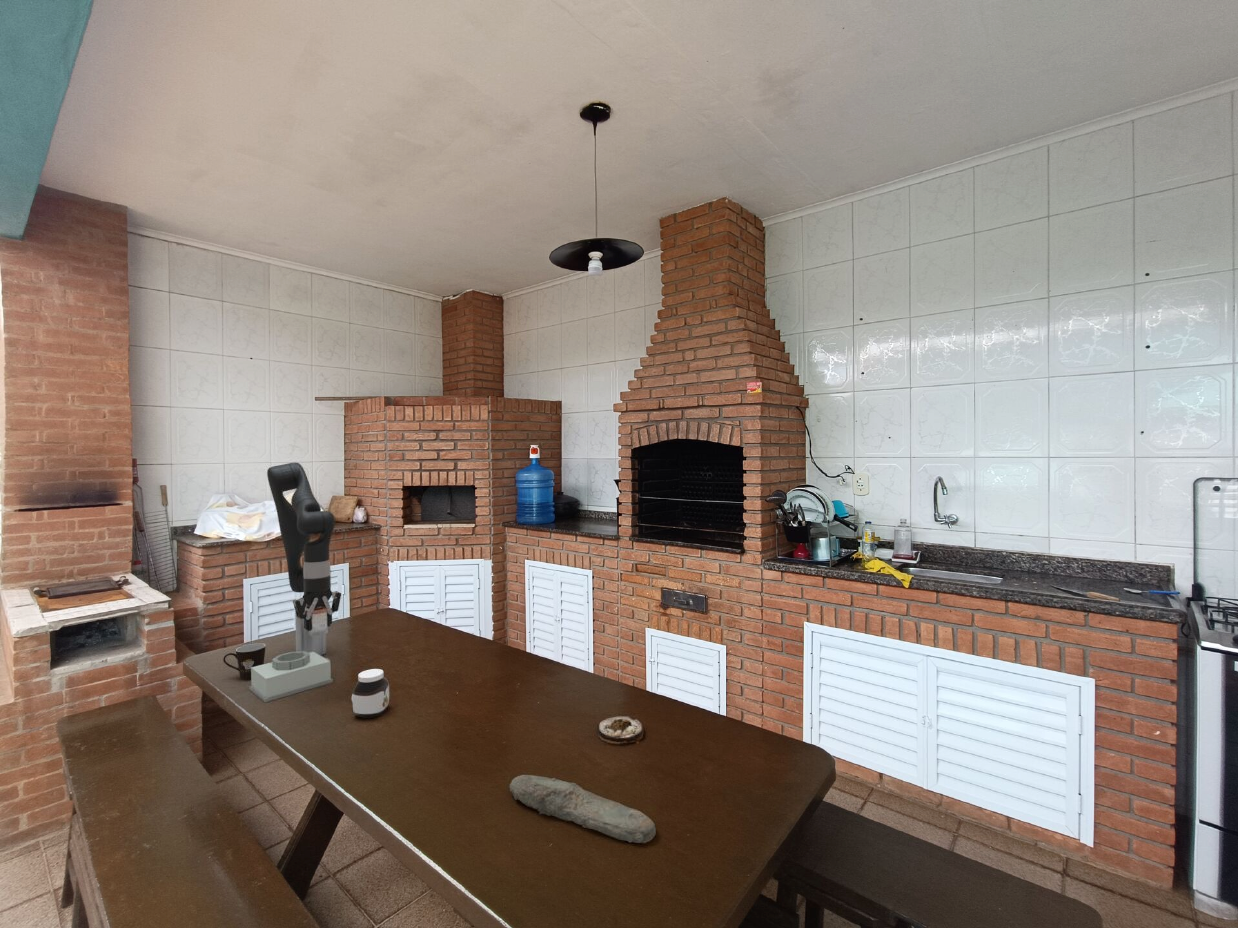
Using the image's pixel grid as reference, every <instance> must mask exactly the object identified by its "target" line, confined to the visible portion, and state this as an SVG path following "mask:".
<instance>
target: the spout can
mask: <svg viewBox="0 0 1238 928" xmlns="http://www.w3.org/2000/svg"><path fill="white" fill-rule="evenodd" d="M310 619H311V631H309V635H310V636H320V635H324V634H328V632H329V630H328V629H329V628H328V619H327V608H326V607H317V608H314V611H313V612H312V614H311V617H310Z"/></svg>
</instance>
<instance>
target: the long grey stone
mask: <svg viewBox="0 0 1238 928" xmlns="http://www.w3.org/2000/svg"><path fill="white" fill-rule="evenodd" d="M509 791H510V792H511V793H512V796H513V797H514V800H518V801H520V802H521V803H522V804H524V805H526V806H527V807H529V808H532V809H534V810H537V812H539V815H542V814H543V815H547V816H548V817H549V816H553V817H555V818H557V819H560V820H564V821H568V822H574V823H575V824H577V825H580V826H581V827H583V828H585V829H590V830H594V831H596V832H597V831H598V832H599V833H602V834H604V835H606V836H609V837H612V838H615V839H617V840H620V841H627V842H628V843H635V844H646V843H648V842H649V843H650V841H652V840H653V839H654V838H655V836H656V835H657V834H656V830H657V828H656V827H655V826H656V825H655V823H654V822H653V820H652V819H651V818H649V816H647V815H646V814H645V813H643V812H642V811H640V810H639V809H635V808H631V807H629V806H626V805H623V804H622V803H620V802H617V801H614V800H612V799H607V798H605V797H603V796H601V795H597V794H595V793H593V792H591V791H588V790H585V789H583V787H582V786H580V785H578V784H577V783H575V782H568V781H565V780H564V781H563V780H561V779H557V778H556V777H552V778H550V777H546V776H540V775H532V774H522V775H518V776H516V777H514V778H513V779H512V780H511V782H510V784H509Z"/></svg>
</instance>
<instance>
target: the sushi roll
mask: <svg viewBox="0 0 1238 928" xmlns="http://www.w3.org/2000/svg"><path fill="white" fill-rule="evenodd" d="M631 717H632V716H629V715H627V716H622V715H620V716H619V715H618V716H613V717H608V718H605V719H603V720H602V721H600V722H599V723H598V725H597V729H596V730H597V734H598V738H599V740H601V741H602V742H603V743H605V744H609V745H614V746H615V745H621V746H623V745H624V746H625V745H629V744H631V743H636V744H639V742H640V741H641V740H642V739H643V736H644V730H645V729H644V728H643V725H642V723H641V722H640V721H639V720H638V719H637V718H635V719H634V718H631Z"/></svg>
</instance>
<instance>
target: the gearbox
mask: <svg viewBox="0 0 1238 928" xmlns="http://www.w3.org/2000/svg"><path fill="white" fill-rule="evenodd" d="M331 671H332V670H331V660H330V659H329V658H328V657H326V658H325V657H324V656H323V655H321V656H320V655H318V654H317V653H315V652H311V653H307V652H305V651H298V652H296V651H290V652H285V653H281V654H278V655H277V656H275V657H274V658H272V659H271V662H268V663H264V664H263V665H259V666H255V667H251V680H250V682H251V684H250V685H249V686H248V689H249V690H250V691H251V692H252V693H253V694H255V695H256V696H257V697H258V698H260V700H262V701H263V702H265V703H267V702H268V703H269V702H271V701H274V700H278V699H280V698H284V697H287V696H291V695H294V694H297V693H301V692H305V691H307V690H310V689H314V688H315V689H316V688H318V687H321V686H324V685H325V686H326V685H328V684H332V683H333V682H334V679H333V678H331V677H332V675H331Z"/></svg>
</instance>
